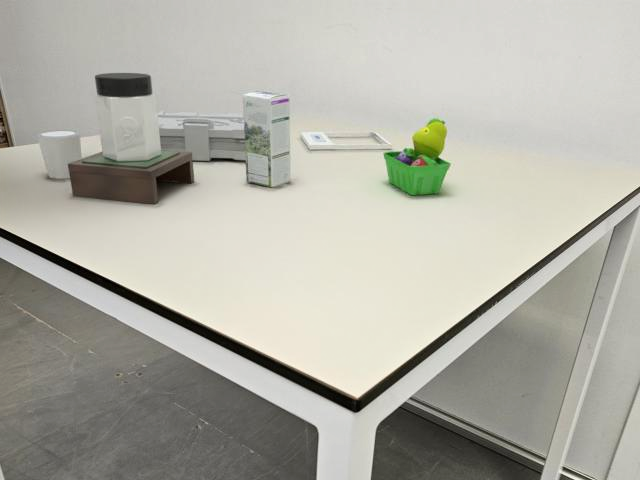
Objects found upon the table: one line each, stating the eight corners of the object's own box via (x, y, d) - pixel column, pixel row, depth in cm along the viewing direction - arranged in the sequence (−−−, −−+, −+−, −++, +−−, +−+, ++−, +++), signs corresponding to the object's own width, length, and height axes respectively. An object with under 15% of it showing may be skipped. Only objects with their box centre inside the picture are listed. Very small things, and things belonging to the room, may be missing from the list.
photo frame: (300, 131, 140) (375, 130, 143) (300, 136, 141) (375, 135, 144) (309, 144, 127) (392, 143, 130) (309, 149, 128) (391, 148, 131)
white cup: (79, 168, 110) (73, 128, 106) (91, 176, 105) (85, 134, 102) (39, 172, 106) (31, 131, 103) (50, 181, 101) (42, 138, 98)
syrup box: (291, 181, 105) (291, 93, 98) (271, 188, 101) (269, 96, 94) (266, 176, 108) (264, 89, 101) (244, 183, 103) (241, 93, 97)
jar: (102, 163, 92) (89, 78, 86) (104, 151, 99) (92, 72, 93) (162, 160, 94) (154, 78, 88) (160, 150, 101) (152, 72, 95)
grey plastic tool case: (141, 140, 133) (137, 103, 129) (268, 144, 133) (267, 107, 129) (112, 159, 116) (107, 118, 112) (258, 164, 116) (256, 122, 112)
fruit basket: (379, 181, 107) (383, 114, 101) (423, 178, 109) (430, 113, 104) (407, 198, 97) (414, 126, 92) (455, 195, 100) (464, 124, 95)
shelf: (73, 195, 94) (67, 162, 92) (121, 175, 106) (116, 144, 104) (154, 204, 91) (150, 170, 89) (194, 181, 103) (192, 151, 101)
